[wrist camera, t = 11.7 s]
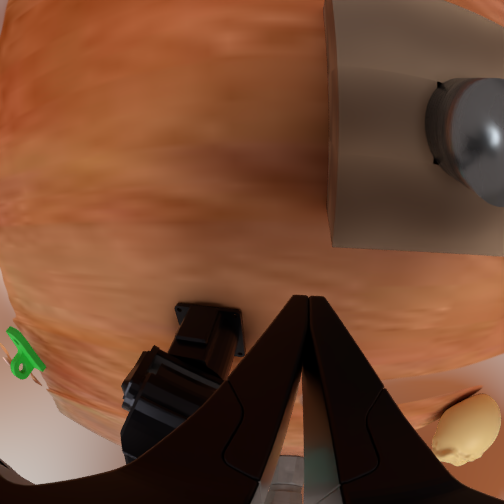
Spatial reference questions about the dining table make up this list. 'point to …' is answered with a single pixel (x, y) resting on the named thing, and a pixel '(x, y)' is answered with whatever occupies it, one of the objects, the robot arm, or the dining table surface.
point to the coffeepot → (287, 481)
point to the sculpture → (467, 430)
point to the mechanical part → (23, 355)
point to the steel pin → (469, 134)
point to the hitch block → (402, 125)
